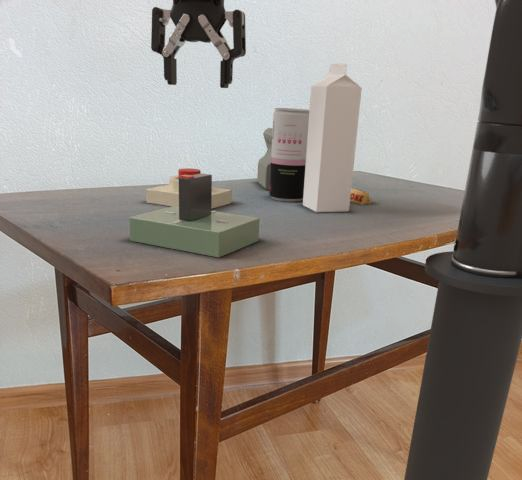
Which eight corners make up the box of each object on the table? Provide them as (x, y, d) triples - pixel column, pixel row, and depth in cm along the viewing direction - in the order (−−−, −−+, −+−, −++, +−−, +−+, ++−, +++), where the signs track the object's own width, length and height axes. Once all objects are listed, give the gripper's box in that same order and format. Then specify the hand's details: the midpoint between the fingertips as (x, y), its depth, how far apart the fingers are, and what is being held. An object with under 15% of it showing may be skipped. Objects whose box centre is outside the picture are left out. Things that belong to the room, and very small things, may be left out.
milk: (316, 212, 96) (327, 62, 87) (302, 205, 101) (311, 62, 92) (349, 211, 98) (364, 64, 89) (334, 204, 103) (346, 64, 94)
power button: (204, 180, 98) (204, 169, 97) (192, 183, 95) (192, 172, 94) (186, 178, 99) (186, 167, 99) (174, 180, 96) (173, 169, 96)
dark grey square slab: (201, 213, 77) (201, 171, 74) (211, 214, 76) (212, 172, 74) (178, 219, 72) (178, 175, 70) (189, 221, 72) (189, 176, 70)
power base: (231, 203, 100) (232, 178, 98) (202, 211, 93) (202, 185, 91) (177, 195, 105) (177, 172, 103) (146, 202, 97) (145, 177, 96)
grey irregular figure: (303, 194, 112) (307, 134, 107) (256, 191, 112) (258, 132, 107) (299, 181, 127) (303, 128, 122) (257, 179, 127) (259, 126, 122)
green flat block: (258, 241, 77) (259, 216, 76) (218, 257, 69) (219, 231, 67) (176, 226, 82) (175, 203, 81) (130, 241, 74) (128, 215, 73)
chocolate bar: (361, 206, 105) (362, 193, 104) (318, 194, 114) (319, 182, 113) (372, 205, 106) (373, 192, 105) (328, 193, 115) (329, 182, 114)
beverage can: (274, 194, 110) (278, 107, 104) (308, 197, 109) (315, 109, 102) (265, 199, 104) (269, 108, 98) (301, 203, 103) (307, 110, 97)
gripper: (141, -44, 83) (145, 83, 89) (239, -43, 80) (235, 88, 86) (162, -34, 89) (164, 84, 96) (253, -32, 86) (248, 89, 93)
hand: (198, 86), depth 91 cm, fingers open, 8 cm apart
